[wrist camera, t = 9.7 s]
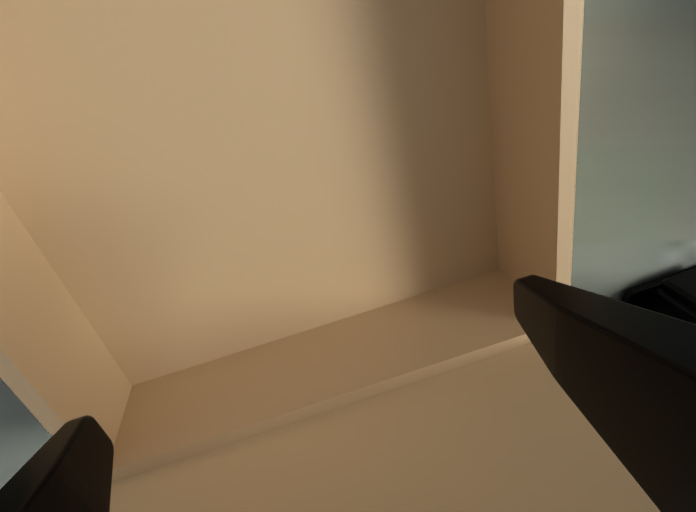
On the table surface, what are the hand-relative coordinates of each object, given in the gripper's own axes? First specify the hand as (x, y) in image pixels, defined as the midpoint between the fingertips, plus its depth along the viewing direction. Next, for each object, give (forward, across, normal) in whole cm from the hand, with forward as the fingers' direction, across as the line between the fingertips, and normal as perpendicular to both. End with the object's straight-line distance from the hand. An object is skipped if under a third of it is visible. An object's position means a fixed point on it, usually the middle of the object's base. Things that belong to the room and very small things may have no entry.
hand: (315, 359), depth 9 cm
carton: (+10, 0, -2) cm, 10 cm away
